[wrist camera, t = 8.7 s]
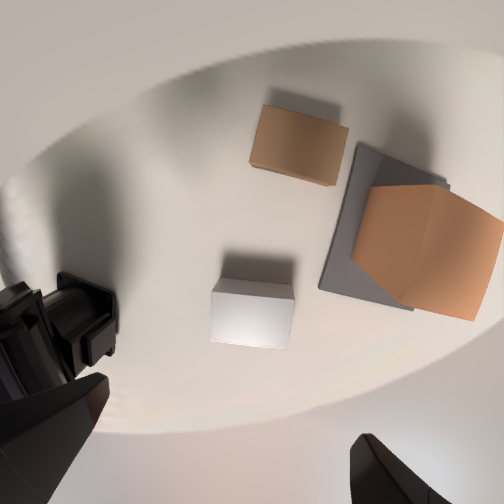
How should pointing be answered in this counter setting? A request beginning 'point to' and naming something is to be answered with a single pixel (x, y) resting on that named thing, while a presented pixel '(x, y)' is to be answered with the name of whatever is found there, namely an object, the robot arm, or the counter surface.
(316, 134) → the walnut block
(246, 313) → the grey plastic block
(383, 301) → the charcoal mat
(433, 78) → the counter surface
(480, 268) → the terracotta block
